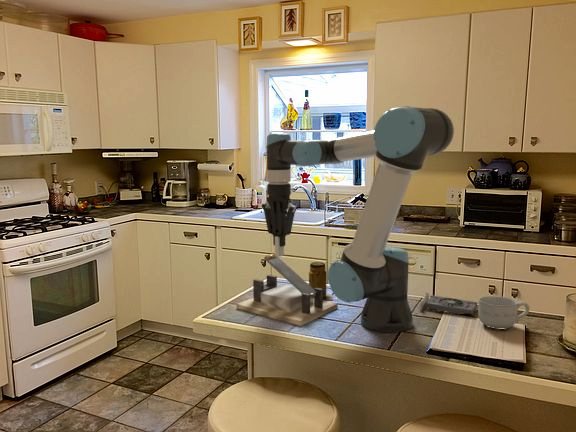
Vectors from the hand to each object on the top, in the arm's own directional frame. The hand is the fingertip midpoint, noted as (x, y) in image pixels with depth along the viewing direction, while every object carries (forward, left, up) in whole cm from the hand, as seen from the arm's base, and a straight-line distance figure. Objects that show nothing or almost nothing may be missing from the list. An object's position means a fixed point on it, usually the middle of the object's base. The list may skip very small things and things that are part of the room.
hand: (279, 255), depth 165 cm
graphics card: (-45, -29, -18) cm, 57 cm away
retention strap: (-4, 0, -7) cm, 8 cm away
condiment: (-5, -16, -17) cm, 24 cm away
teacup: (-63, -25, -17) cm, 70 cm away
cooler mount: (-3, 0, -17) cm, 17 cm away
